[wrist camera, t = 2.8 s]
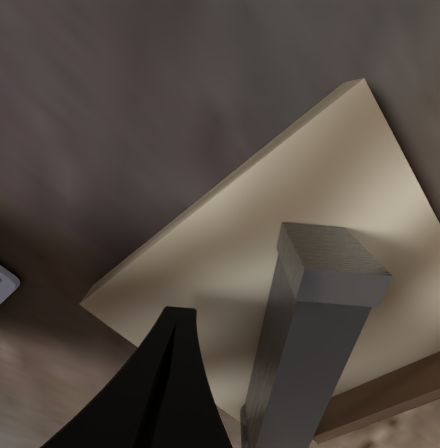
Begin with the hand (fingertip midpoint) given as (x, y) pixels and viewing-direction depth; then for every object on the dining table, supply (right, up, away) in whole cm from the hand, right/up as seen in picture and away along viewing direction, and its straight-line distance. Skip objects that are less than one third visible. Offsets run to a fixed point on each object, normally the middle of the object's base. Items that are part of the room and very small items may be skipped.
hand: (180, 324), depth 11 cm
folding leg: (+5, -2, +2) cm, 6 cm away
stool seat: (+5, 0, +3) cm, 6 cm away
